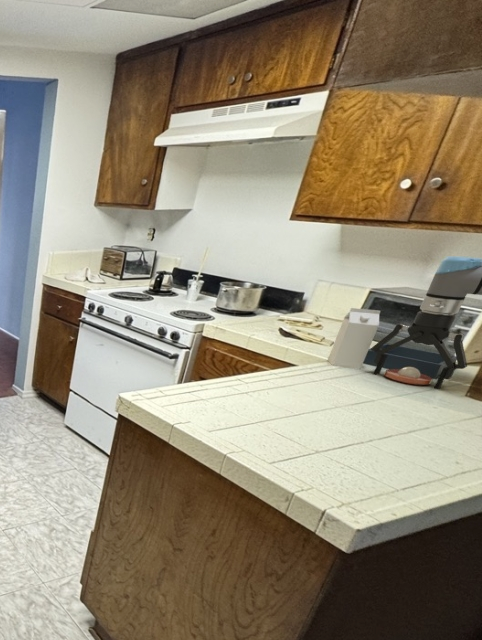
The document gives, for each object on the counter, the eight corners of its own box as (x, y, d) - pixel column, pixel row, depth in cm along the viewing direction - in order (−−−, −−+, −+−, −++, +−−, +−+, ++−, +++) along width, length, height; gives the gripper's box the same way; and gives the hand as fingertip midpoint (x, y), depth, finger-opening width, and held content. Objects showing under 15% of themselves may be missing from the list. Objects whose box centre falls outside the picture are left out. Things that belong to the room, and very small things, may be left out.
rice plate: (433, 384, 141) (441, 369, 139) (422, 390, 136) (430, 374, 134) (389, 374, 149) (395, 360, 147) (377, 379, 144) (383, 364, 142)
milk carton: (327, 360, 161) (348, 306, 154) (354, 364, 158) (377, 308, 151) (331, 366, 156) (354, 309, 148) (360, 370, 152) (384, 312, 145)
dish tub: (450, 371, 153) (458, 356, 151) (433, 380, 144) (441, 364, 142) (379, 356, 167) (385, 343, 165) (360, 364, 158) (366, 349, 156)
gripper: (375, 305, 143) (348, 370, 151) (500, 323, 123) (460, 397, 131) (384, 303, 146) (357, 367, 154) (507, 320, 126) (468, 393, 134)
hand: (405, 381), depth 143 cm, fingers open, 13 cm apart
